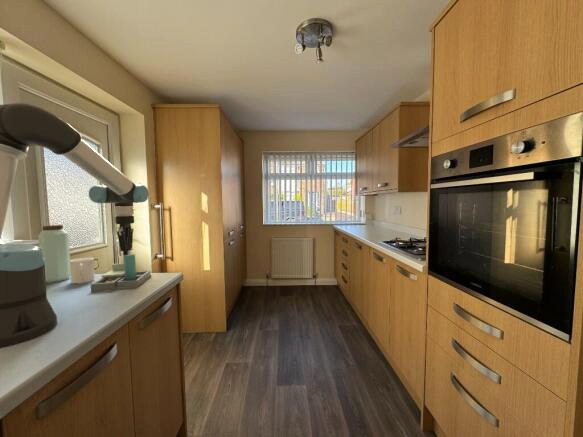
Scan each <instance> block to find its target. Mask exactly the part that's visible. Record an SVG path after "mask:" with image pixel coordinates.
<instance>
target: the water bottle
mask: <svg viewBox="0 0 583 437" xmlns="http://www.w3.org/2000/svg"><path fill="white" fill-rule="evenodd" d="M37 238H38V247H40V248H41V249H42V251H43V256H44V259H45V278H46V283H48V284H49V283H57V282H58V283H59V282H62V281H66V280H68V279H69V278H71V270H70V261H71V253H70V252H71V251H70V250H71V249H70V242H69V241H70V239H69V238H70V236H69V232H68V231H66V230H65V229H64V224H53V225H51V224H50V225H42V231H41V232H39V233H38V235H37Z"/></svg>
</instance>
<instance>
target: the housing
mask: <svg viewBox="0 0 583 437" xmlns="http://www.w3.org/2000/svg"><path fill="white" fill-rule="evenodd" d="M150 276H151V277H152V274H151V270H142V271H136V277H137V280H129V281H125V275H124V276H114V277H101V278H99V279H98V280H96V281H94V282H93V283H92V282H91V284H90V292H91V293H93V292H108V291H119V290H121V291H122V290H131V289H132V290H133V289H138V288H139V286H141V285H142V284H144V283H145V282H146V281H147V280H148V279H149V278H150ZM144 281H145V282H144Z"/></svg>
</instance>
